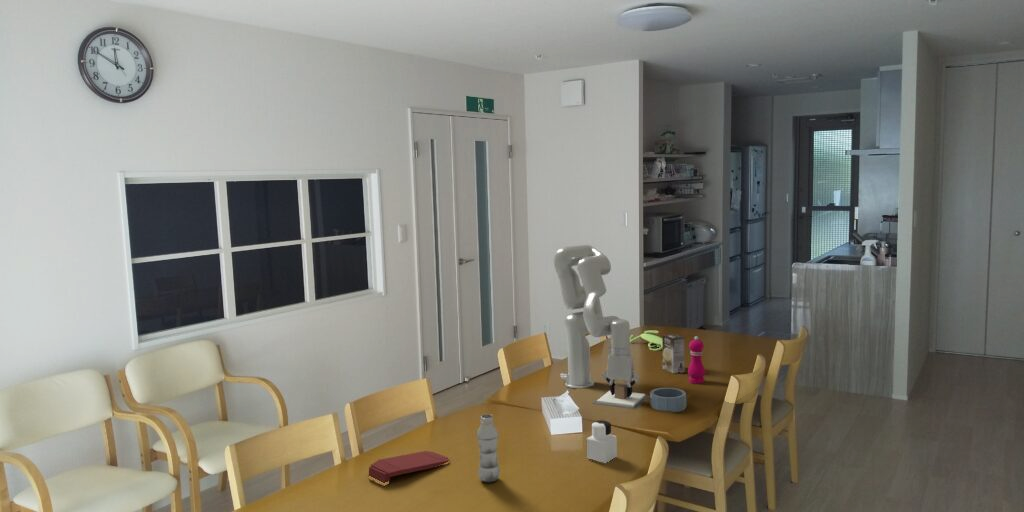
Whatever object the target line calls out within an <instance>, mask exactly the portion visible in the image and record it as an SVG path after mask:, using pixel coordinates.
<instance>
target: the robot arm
mask: <svg viewBox="0 0 1024 512" xmlns="http://www.w3.org/2000/svg"><path fill="white" fill-rule="evenodd" d="M553 264H554V269H555V272H556V274H557V277H558V280H559V284H560V290H561V295H562V296H561V297H562V301H563V303H564V304H563V305H564V306H565V308H566V309H567V310H581V309H583V310H582V311H576V312H571V313H569V314H568V315H567V316H566V317H565V319H564V322H563V324H564V330H565V334H566V343H567V345H566V347H567V349H566V350H567V373H562V372H561V373H560V375H559V378H560V379H561V380H565V381H564V386H565V387H567V388H569V389H585V388H586V389H587V388H591V387H592V386H594V385H595V381H594V380H592V379H591V355H590V354H591V353H590V352H591V349H590V346H591V345H590V342H589V340H588V338H587V337H586V334H590V335H591V336H592V337H593V338H601V337H606V336H610V346H608V347H607V351H609V352H610V353H608V357H607V363H606V364H607V366H606V370H605V372H603V374H601V376H602V377H603V378H604V379H605V381H606V382H607V383H608V384H609V387H610V388H609V390H610V392H611V395H614V394H615V385H616V384H617V383H615V382H616V381H624V382H625V381H626V384H627V385H628V387H627V397H630V396H631V394H632V393H633V386H634V385H635V383H637V382H639V380H640V375H638V374H637V373H636V372H635V365H634V360H633V359H634V358H633V355H632V353H631V342H630V336H631V335H630V334H631V333H630V329H631V328H630V327H631V325H630V322H629V320H627V319H624V318H623V319H622V318H620V317H618V316H617V315H616V316H615V315H609V316H604V314H603V311H602V304H601V300H600V298H601V297H603V296H604V295H605V294H606V293H607V287H606V284H605V282H604V279H603V276H606V275H608V274H609V273H611V270H612V268H611V267H612V266H611V261H610V259H609V258H608V257H607V255H605V254H604V253H603V252H602V251H599V250H598V249H597V248H595V247H594V246H592V245H590V244H581V245H569V246H564V247H561V248H559V249H557V250H556V252H555V254H554V257H553ZM576 266H577V270H575V269H574V268H573V267H576ZM577 271H578V273H577ZM580 279H581V281H580ZM581 282H582V283H581ZM581 284H582V285H581ZM633 378H634V379H633Z"/></svg>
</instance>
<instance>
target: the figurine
mask: <svg viewBox="0 0 1024 512" xmlns="http://www.w3.org/2000/svg"><path fill="white" fill-rule="evenodd" d="M658 335H659V331H658V330H653V329H652V330H645V331H644V332H643V333H641V334H639V335H638V336H635V335H634V334H631V335H630V343H633V342H634V341H636V340H638V339H640V338H642V339H643V341H646V342H648V343H647V344H648V345H647V346H648V349H649V350H650V351H652V350H653V351H654V352H656V351H657V352H658V351H661V350H663V344H662V337H660V336H658ZM634 336H635V337H634ZM652 344H653V345H652ZM654 347H657V348H654ZM658 347H659V348H658Z"/></svg>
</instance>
